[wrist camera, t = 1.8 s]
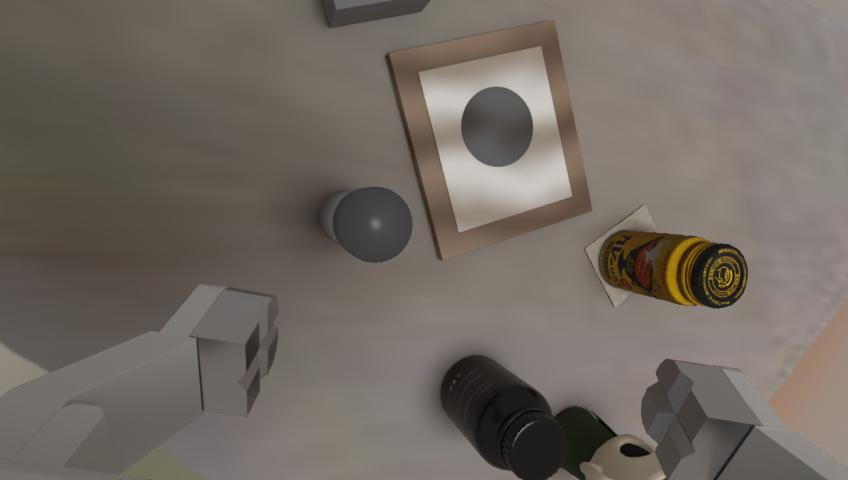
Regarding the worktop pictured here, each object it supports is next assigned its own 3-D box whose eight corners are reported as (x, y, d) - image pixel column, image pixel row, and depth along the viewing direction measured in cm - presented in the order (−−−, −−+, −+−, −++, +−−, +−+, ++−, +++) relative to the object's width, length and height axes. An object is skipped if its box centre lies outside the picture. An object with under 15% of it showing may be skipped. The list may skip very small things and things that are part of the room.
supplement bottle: (517, 372, 47) (597, 429, 36) (482, 434, 46) (551, 512, 35) (463, 341, 45) (529, 390, 34) (425, 405, 44) (479, 477, 33)
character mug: (623, 416, 52) (734, 485, 39) (598, 478, 51) (703, 568, 39) (542, 387, 48) (636, 453, 36) (515, 454, 48) (601, 544, 35)
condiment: (583, 249, 48) (680, 265, 37) (643, 203, 50) (754, 206, 39) (613, 307, 50) (715, 340, 39) (670, 261, 52) (784, 280, 40)
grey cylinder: (311, 197, 40) (328, 198, 28) (364, 183, 41) (401, 178, 29) (327, 250, 40) (350, 272, 29) (378, 235, 42) (420, 249, 30)
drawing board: (386, 56, 40) (389, 52, 39) (548, 23, 45) (555, 18, 44) (439, 259, 44) (444, 260, 42) (586, 210, 48) (594, 210, 47)
